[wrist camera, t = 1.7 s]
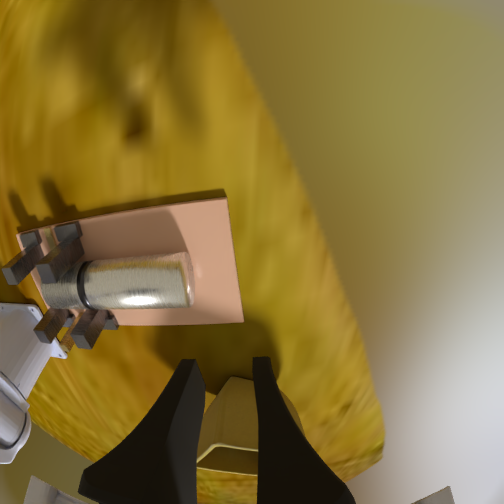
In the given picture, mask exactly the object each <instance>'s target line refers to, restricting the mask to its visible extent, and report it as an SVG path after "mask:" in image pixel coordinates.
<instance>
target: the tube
mask: <svg viewBox="0 0 504 504" xmlns="http://www.w3.org/2000/svg"><path fill="white" fill-rule="evenodd" d="M41 292H42V296H43V298H44V300H45V302H46V303H47V304H48V305H49V306H50V307H51V308H55V309H91V310H100V309H166V308H190V307H191V306H192V305H193V302H194V296H195V277H194V270H193V265H192V261H191V258H190V256H189V254H188V253H187V252H178V253H167V254H156V255H146V256H135V257H125V258H114V259H104V260H91V261H83V262H76V263H75V264H74V265H73V266H72V267H71V268H70V269H69V270H68V271H67V272H66V273H65V274H64V276H63V277H62V278H61V279H60V280H59V281H58V282H57V283H49V284H43V282H42V280H41Z"/></svg>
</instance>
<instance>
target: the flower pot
mask: <svg viewBox="0 0 504 504" xmlns="http://www.w3.org/2000/svg"><path fill="white" fill-rule="evenodd" d="M279 390H280V389H279ZM280 393H281V395H282V397H283V399H284V402H285V404H286V406H287V408H288V410H289V411H290V413H291V415H292V417H293V419H294V421H295V422H296V424H297V426H298V427H299V429H300V430H301V432H302V433H303V435H304V436H305V434H304V431H303V428H302V424H301V421H300V418H299V416H298V413H297V411H296V409H295V407H294V406H293V404H292V402H291V401H290V400H289V399H288V397H287V396H286V395H285V394H284V393H283V392H282V391H281V390H280ZM305 438H306V437H305ZM197 468H199V469H205V470H211V471H218V472H227V473H235V474H243V475H253V476H258V414H257V406H256V398H255V390H254V382H253V381H251V380H247V379H243V378H239V377H231V378H229V379H228V381H227V382H226V383H225V385H224V386H223V388H222V389H221V391H220V392H219V394H218V395H217V396H216V398H215V399H214V400H213V402H212V403H211V405H210V406H209V407H208V409H207V411H206V412H205V414H204V416H203V419H202V425H201V431H200V437H199V443H198V450H197Z"/></svg>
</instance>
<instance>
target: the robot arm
mask: <svg viewBox="0 0 504 504" xmlns="http://www.w3.org/2000/svg"><path fill="white" fill-rule="evenodd" d="M42 317H43V315H42V313H41V311H40V309H39V308H38V306H36V305H32V304H12V303H0V464H9V463H12V460H13V459H14V457H15V455H16V454H17V452H18V451H19V449H20V448H21V447H22V446H23V445H24V444H25V442H26V441H27V439H28V437H29V434H30V430H31V417H30V414H29V412H28V411H27V410H28V408H29V406H30V405H29V404H28V403H27V402H26V399H27V398H28V396H29V394H30V392H31V390H32V388H33V386H34V384H35V382H36V380H37V379H38V377H39V375H40V373H41V371H42V370H43V368H44V366H45V364H46V363H47V361H48V359H49V358H50V356H53V357H58V358H64V359H66V358H67V354H66V353H65V351H63V350H62V348H61V347H60V345H59V342H58V340H57V339H56V337H55V339H54V340H53V342H52V343H51V344H47V343H41V342H40V340H39V339H38V337H37V335H36V334H35V332H34V331H33V329H34V328H35V327H36V325H37V324H38V323H39V321H40V320H41V319H42ZM252 373H253V382H254V390H255V398H256V406H257V414H258V486H257V504H356V503H355V500H354V497H353V496H352V494H351V492H350V491H349V489H348V488H347V486H346V485H345V483H344V482H343V481H342V480H340V479H339V478H338V477H337V476H336V475H335V473H334V472H333V471H332V470H331V469H330V468H329V467H328V466H327V465H326V464H325V463H324V461H323V460H322V459H321V458H320V456H319V455H318V454H317V453H316V451H315V450H314V449H313V448H312V446H311V445H310V444H309V442H308V441H307V439H306V438H305V436H304V435H303V433H302V432H301V430H300V429H299V427H298V426H297V424H296V422H295V421H294V419H293V417H292V415H291V413H290V411H289V410H288V408H287V406H286V404H285V402H284V399H283V397H282V395H281V393H280V390H279V388H278V385H277V383H276V380H275V377H274V374H273V370H272V366H271V361H270V358H269V357H268V356H267V357H253V368H252ZM205 388H206V385H205V383H204V380H203V378H202V375H201V373H200V370H199V367H198V365H197V362H196V359H182V360H181V361H180V363H179V365H178V367H177V368H176V370H175V372H174V374H173V375H172V377H171V379H170V380H169V382H168V384H167V385H166V387H165V388H164V390H163V392H162V393H161V395H160V396H159V398H158V399H157V401H156V402H155V403H154V405H153V406H152V408H151V409H150V410H149V412H148V413H147V414H146V416H145V417H144V418H143V419H142V421H141V422H140V423H139V424H138V425H137V426H136V428H135V429H134V430H133V431H132V432H131V433H130V434H129V435H128V436H127V437H126V438H125V439H124V440H123V441H122V442H121V443H120V444H119V445H117V446H116V447H115V448H114V449H113V450H111V451H110V452H109V453H108V454H106V455H105V456H104V457H103V458H101V459H100V460H98V461H97V462H95V463H94V464H92V465H91V466H89V467H88V468H86V469H85V470H84V471H83V474H82V477H81V481H80V485H79V489H78V493H79V494H81V495H83V496H85V497H87V498H89V499H91V500H94V501H96V502H98V503H99V504H197V490H196V469H197V450H198V443H199V437H200V431H201V425H202V419H203V413H204V407H205ZM24 504H88V503H86V502H83V501H81V500H79V499H76V498H74V497H73V496H71V495H68V494H66V493H64V492H62V491H60V490H58V489H57V488H55V487H53V486H50V485H49V484H47V483H46V482H43V481H42V480H40V479H38V478H37V477H35V476H33V475H32V476H31V479H30V482H29V486H28V490H27V493H26V497H25V500H24ZM412 504H454V500H453V496H452V492H451V489H450V486H447V487H446V488H444V489H442V490H440V491H438V492H436V493H433V494H431V495H429V496H427V497H425V498H423V499H421V500H418V501H416V502H414V503H412Z"/></svg>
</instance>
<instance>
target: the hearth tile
mask: <svg viewBox="0 0 504 504" xmlns="http://www.w3.org/2000/svg"><path fill="white" fill-rule="evenodd" d="M74 221H79V223H80V226H81V230H82V233H83V236H82V237H80V240H81V243H82V246H83V249H84V252H85V254H84V255H83V256H82V257H81V258H80V259H79V260H78V261H77V262H83V261H91V260H104V259H114V258H125V257H135V256H146V255H156V254H167V253H178V252H187V253H188V254H189V256H190V258H191V261H192V265H193V270H194V277H195V296H194V302H193V305H192V306H191V307H190V308H166V309H108V311H109V313H110V315H115V317H116V319H117V321H118V323H119V325H197V324H221V323H238V322H244V314H243V308H242V301H241V294H240V287H239V280H238V273H237V266H236V259H235V252H234V245H233V238H232V230H231V223H230V216H229V208H228V200H227V197H222V198H213V199H204V200H196V201H188V202H180V203H173V204H166V205H159V206H152V207H145V208H139V209H133V210H127V211H121V212H115V213H109V214H104V215H98V216H93V217H88V218H83V219H78V220H73V221H68V222H63V223H59V224H64V223H69V222H74ZM59 224H54V225H49V226H45V227H41V228H36V229H32V230H37V229H38V230H39V233H40V236H41V239H42V243H41V244H40V245H41V248H42V250H43V253H44V256H46V255H47V254H48V253H49V252H50V251H51V250H50V247H49V244H48V241H47V238H46V235H45V232H44V228H48V227H51V229H52V232H53V235H54V238H55V241H56V244H57V245H58V244H59V243H60V242H62V241H60V242H58V240H57V237H56V234H55V231H54V227H55V226H57V225H59ZM32 230H28V231H32ZM28 231H24V232H28ZM24 232H20V233H18V234H17V235H16V237H17V240H18V242H19V245H20V248H21V250H24V249H25V248H26V247H25V248H23V245H22V242H21V240H20V237H19V235H21V234H22V233H24ZM30 273H31V275H32V277H33V279H34V282H35V284H36V286H37V288H38V290H39V292H40V294H41V296H42V292H41V277H40V275H39V273H38V271H37V268H36V267H35V268H34V269H33V270H32V271H31V272H30ZM42 298H43V296H42ZM43 300H44V298H43ZM44 302H45V300H44ZM45 304H46V306H47V308H48V309H49V308H50V306H49V305H48V304H47V303H46V302H45ZM85 310H86V309H69V311H70V313H71V314H74V315H75V317H77V316H78V314H79V313H80V312H82V313H84V312H85Z"/></svg>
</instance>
